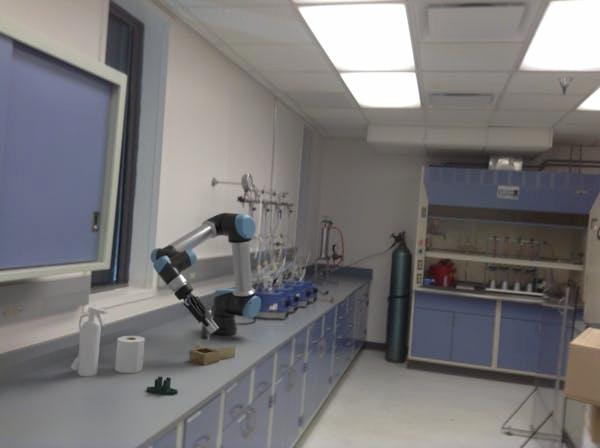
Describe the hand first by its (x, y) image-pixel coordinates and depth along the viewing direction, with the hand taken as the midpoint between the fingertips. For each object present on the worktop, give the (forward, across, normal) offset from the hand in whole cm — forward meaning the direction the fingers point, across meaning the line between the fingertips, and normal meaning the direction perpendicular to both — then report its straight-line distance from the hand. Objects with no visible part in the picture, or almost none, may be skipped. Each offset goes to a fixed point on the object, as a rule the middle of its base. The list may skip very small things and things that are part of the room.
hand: (214, 330), depth 224 cm
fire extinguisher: (-17, +32, -37) cm, 52 cm away
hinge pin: (0, 0, -5) cm, 5 cm away
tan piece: (+6, -8, -13) cm, 16 cm away
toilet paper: (-9, +22, -29) cm, 37 cm away
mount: (+6, +41, -14) cm, 44 cm away
